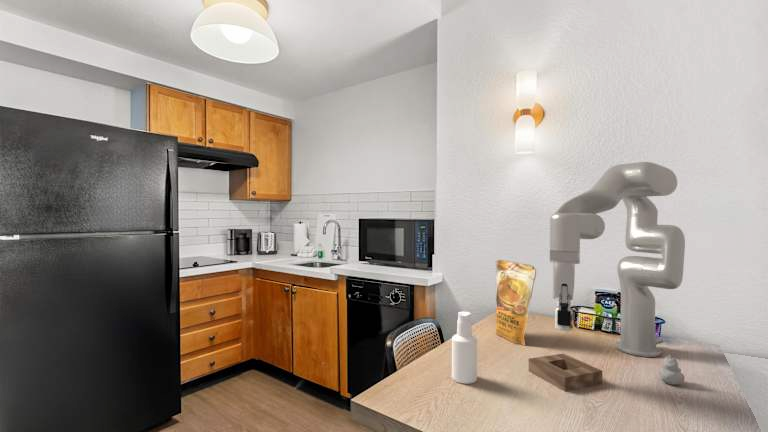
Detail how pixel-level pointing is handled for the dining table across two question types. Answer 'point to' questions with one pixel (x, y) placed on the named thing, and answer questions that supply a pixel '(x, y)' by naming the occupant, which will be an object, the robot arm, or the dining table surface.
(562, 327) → the pill bottle
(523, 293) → the pancake mix bag
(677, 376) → the grey swirl figurine
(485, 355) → the dining table surface
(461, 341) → the spray bottle
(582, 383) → the holder block
